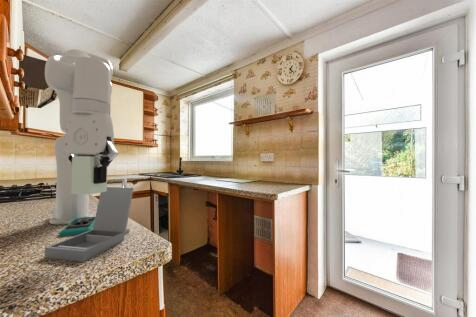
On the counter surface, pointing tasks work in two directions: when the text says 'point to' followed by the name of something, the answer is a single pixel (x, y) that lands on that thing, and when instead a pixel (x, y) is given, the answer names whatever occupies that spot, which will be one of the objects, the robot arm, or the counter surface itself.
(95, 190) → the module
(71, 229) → the digital multimeter
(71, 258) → the case
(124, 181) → the clear capped tube
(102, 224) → the lid
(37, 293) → the counter surface
